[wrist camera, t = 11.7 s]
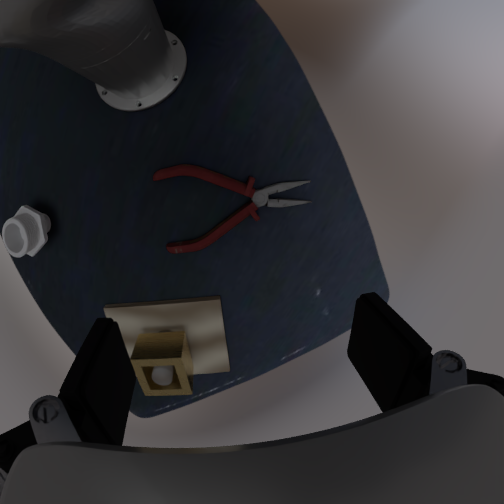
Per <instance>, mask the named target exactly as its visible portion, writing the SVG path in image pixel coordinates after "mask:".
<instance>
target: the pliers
mask: <svg viewBox="0 0 504 504" xmlns="http://www.w3.org/2000/svg"><path fill="white" fill-rule="evenodd" d="M181 175H186V176H193V177H197V178H200V179H203V180H205V181H208V182H211V183H214V184H216V185H219V186H222V187H224V188H227V189H230V190H232V191H235V192H237V193H240V194H243V195H245V196H248V197H251V200H250V201H249V202H247V203H246V204H245V205H243V206H242V207H241V208H239V209H238V210H237V211H235V212H234V213H233V214H231V215H230V216H229V217H227V218H226V219H225V220H224V221H222V222H221V223H220V224H218V225H217V226H216V227H214V228H213V229H212V230H211V231H209V232H208V233H206V234H205V235H203V236H201V237H199V238H197V239H194V240H189V241H182V242H175V243H168V244H167V245H166V248H167V250H168V252H170V253H173V254H176V253H185V252H194V251H198V250H201V249H203V248H205V247H207V246H209V245H211V244H212V243H214V242H215V241H216V240H218V239H219V238H220V237H222V236H223V235H224V234H226V233H227V232H228V231H229V230H231V229H232V228H233V227H235V226H236V225H237V224H239V223H240V222H241V221H243V220H244V219H245V218H247V217H248V216H249V215H252V217H253V218H254V219H255V221H258V220H259V219H260V218H259V216H258V215H257V214H256V212H255V211H256V210H257V209H258V208H257V207H260V206H263V205H264V206H267V207H287V206H293V205H299V204H305V203H311V202H312V201H305V200H294V199H282V198H276V199H268V196H269V195H270V194H274V193H277V192H282V191H285V190H288V189H291V188H294V187H297V186H300V185H302V184H305V183H309V182H311V181H296V182H281V183H277V184H273V185H270V186H266V187H264V188H263V189H260V190H257V189H255V188H254V187H253V184H254V182H255V178H253V177H251V176H249V177H248V180H247V182H246V184H245V183H243V182H240V181H238V180H235V179H232V178H230V177H227V176H225V175H222V174H219V173H217V172H214V171H211V170H208V169H206V168H203V167H199V166H195V165H189V164H181V165H177V166H173V167H169V168H164V169H160V170H158V171H156V172H155V173H154V175H153V181H156V180H161V179H165V178H170V177H174V176H181Z"/></svg>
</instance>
